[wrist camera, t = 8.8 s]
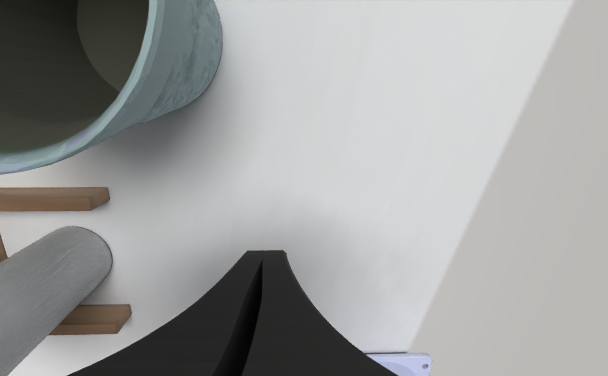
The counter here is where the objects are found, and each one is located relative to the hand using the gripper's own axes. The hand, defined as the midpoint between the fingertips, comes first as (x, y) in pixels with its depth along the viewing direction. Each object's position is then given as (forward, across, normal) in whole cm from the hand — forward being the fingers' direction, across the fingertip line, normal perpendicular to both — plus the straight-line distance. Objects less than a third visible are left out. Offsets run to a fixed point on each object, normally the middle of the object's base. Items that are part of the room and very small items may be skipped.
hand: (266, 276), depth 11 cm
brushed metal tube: (+11, +14, +5) cm, 18 cm away
